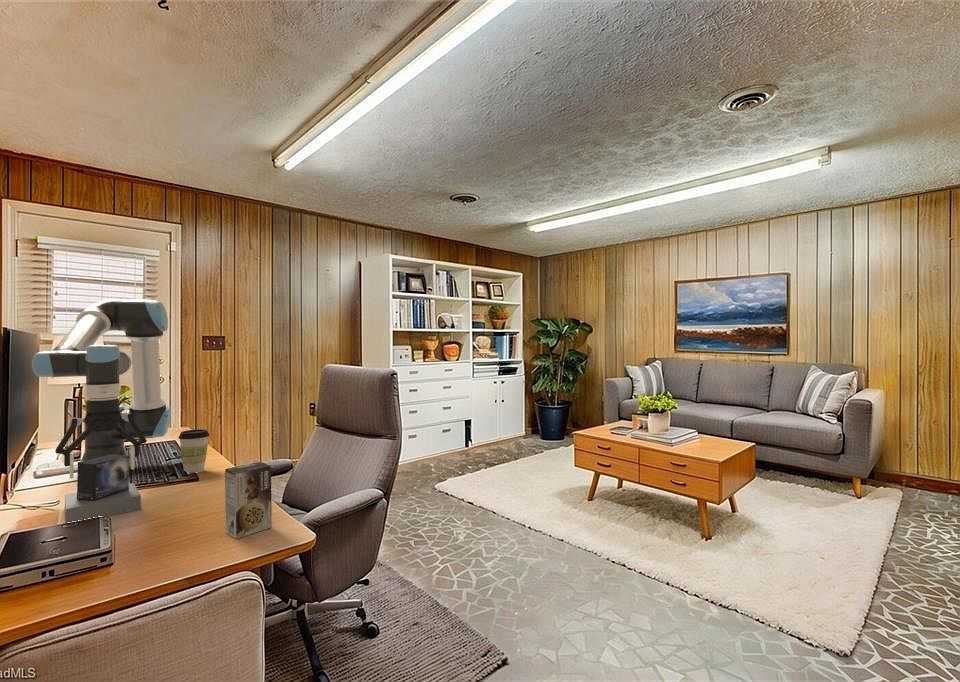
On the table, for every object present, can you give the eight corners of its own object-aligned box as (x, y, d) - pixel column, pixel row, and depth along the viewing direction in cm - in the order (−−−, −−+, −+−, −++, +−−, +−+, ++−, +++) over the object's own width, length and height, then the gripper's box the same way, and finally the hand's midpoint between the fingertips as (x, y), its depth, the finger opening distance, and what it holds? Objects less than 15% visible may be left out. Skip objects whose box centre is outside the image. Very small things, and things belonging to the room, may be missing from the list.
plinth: (64, 508, 134) (64, 494, 134) (133, 496, 145) (133, 483, 145) (65, 524, 122) (66, 509, 122) (140, 509, 133) (140, 495, 133)
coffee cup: (184, 477, 165) (184, 435, 166) (173, 472, 171) (173, 431, 172) (214, 471, 173) (214, 430, 173) (202, 467, 179) (202, 428, 179)
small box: (94, 501, 128) (94, 463, 128) (75, 500, 129) (75, 462, 129) (130, 489, 138) (130, 454, 138) (112, 488, 140) (112, 453, 140)
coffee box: (260, 522, 124) (260, 461, 124) (272, 528, 119) (272, 464, 120) (224, 532, 116) (224, 468, 117) (235, 539, 112) (235, 472, 112)
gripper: (43, 404, 123) (43, 484, 123) (157, 396, 139) (157, 467, 140) (43, 401, 128) (43, 478, 128) (153, 394, 145) (153, 462, 145)
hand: (103, 472), depth 134 cm, fingers open, 13 cm apart
